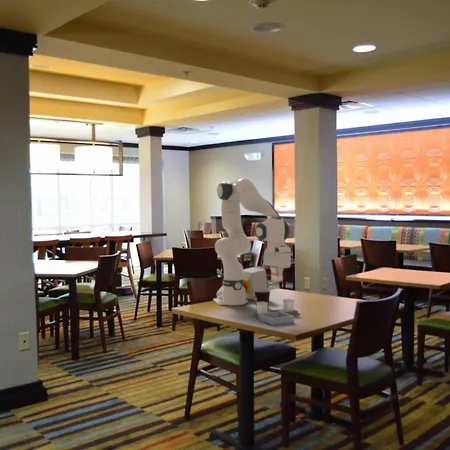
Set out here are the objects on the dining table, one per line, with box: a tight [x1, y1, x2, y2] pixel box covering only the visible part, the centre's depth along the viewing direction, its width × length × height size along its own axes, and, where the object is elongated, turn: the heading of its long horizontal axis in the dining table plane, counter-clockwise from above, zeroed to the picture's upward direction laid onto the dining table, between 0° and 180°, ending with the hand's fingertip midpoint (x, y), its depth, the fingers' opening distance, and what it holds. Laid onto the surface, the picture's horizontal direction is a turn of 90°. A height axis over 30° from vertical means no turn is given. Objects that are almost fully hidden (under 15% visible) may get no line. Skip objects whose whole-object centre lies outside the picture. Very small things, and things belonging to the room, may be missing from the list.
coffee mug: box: [255, 289, 271, 309], centre depth 295 cm, size 12×9×10 cm
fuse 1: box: [256, 301, 269, 314], centre depth 272 cm, size 4×4×7 cm
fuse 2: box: [282, 298, 295, 311], centre depth 279 cm, size 4×4×7 cm
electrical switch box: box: [243, 265, 269, 302], centre depth 321 cm, size 15×15×20 cm
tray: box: [258, 311, 295, 327], centre depth 262 cm, size 13×13×4 cm
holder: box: [250, 308, 301, 321], centre depth 275 cm, size 8×25×2 cm, turn 116°
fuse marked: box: [270, 267, 284, 283], centre depth 266 cm, size 4×4×7 cm
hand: (276, 275), depth 266 cm, fingers closed on fuse marked, 4 cm apart
